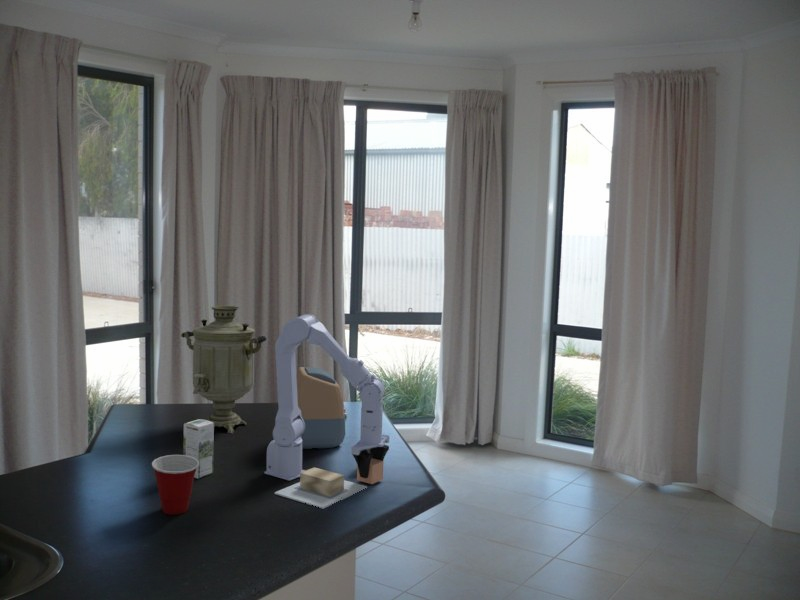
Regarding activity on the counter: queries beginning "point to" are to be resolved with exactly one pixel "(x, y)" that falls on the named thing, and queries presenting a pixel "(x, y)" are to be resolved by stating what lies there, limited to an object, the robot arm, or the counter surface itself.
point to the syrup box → (200, 445)
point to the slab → (322, 481)
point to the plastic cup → (175, 481)
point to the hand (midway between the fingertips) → (370, 474)
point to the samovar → (223, 363)
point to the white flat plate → (317, 498)
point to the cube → (372, 472)
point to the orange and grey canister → (320, 408)
